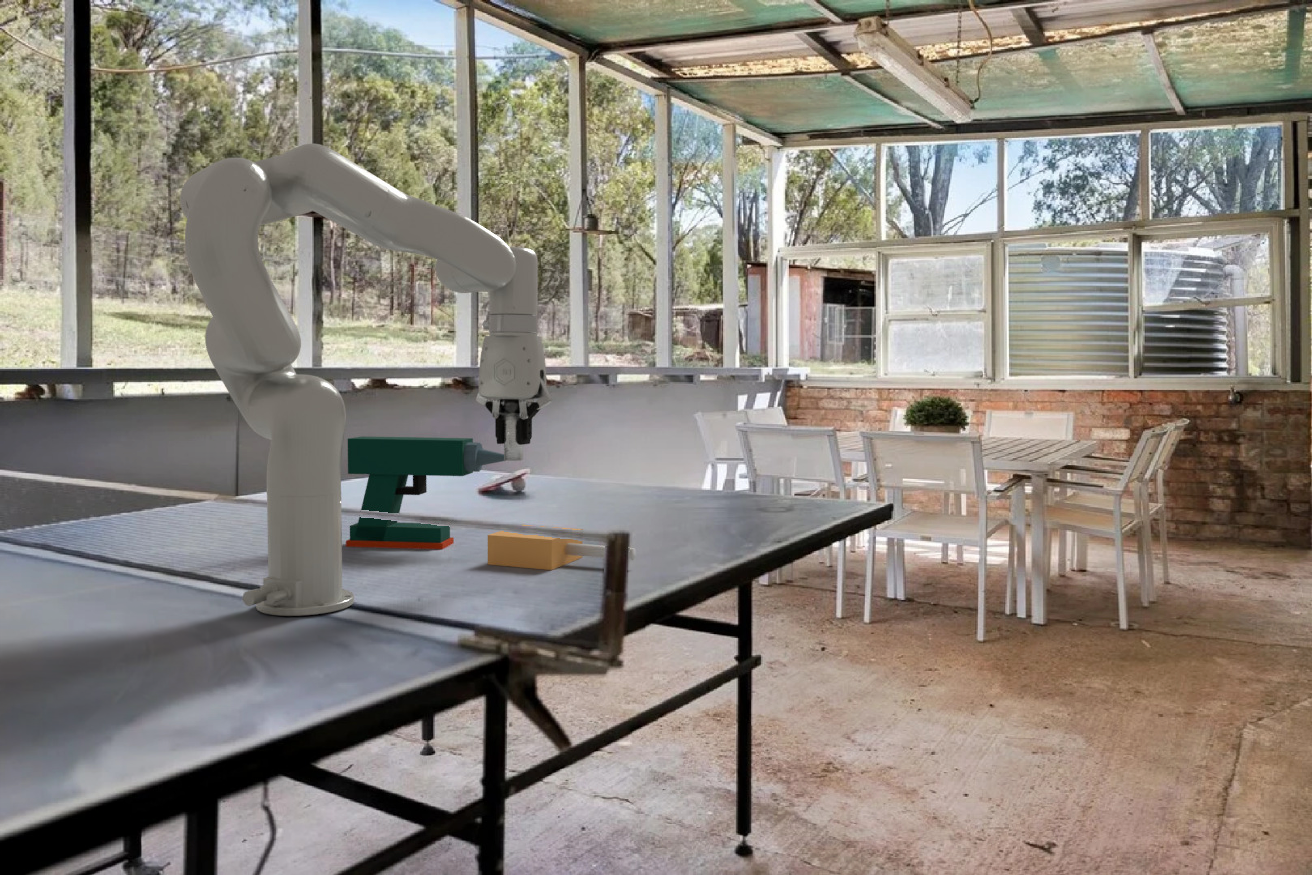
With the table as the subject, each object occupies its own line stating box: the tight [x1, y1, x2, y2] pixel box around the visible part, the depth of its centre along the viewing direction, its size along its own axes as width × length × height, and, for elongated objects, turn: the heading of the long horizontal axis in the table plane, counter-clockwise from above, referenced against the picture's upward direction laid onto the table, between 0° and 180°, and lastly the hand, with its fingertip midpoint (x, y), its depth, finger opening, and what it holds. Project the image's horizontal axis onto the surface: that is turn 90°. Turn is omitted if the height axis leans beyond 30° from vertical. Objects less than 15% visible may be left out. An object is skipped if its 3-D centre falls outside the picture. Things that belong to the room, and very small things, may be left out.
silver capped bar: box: [503, 399, 524, 462], centre depth 152 cm, size 3×3×10 cm
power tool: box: [345, 435, 508, 550], centre depth 178 cm, size 32×7×20 cm, turn 84°
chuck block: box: [487, 524, 636, 571], centre depth 163 cm, size 12×24×5 cm, turn 70°
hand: (513, 442), depth 152 cm, fingers closed on silver capped bar, 3 cm apart
